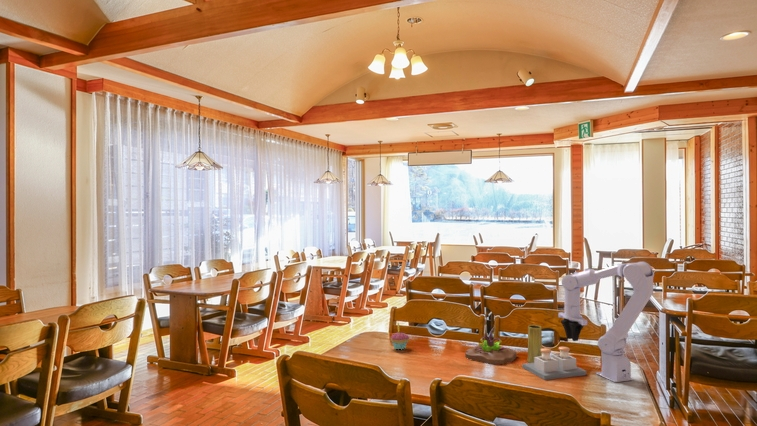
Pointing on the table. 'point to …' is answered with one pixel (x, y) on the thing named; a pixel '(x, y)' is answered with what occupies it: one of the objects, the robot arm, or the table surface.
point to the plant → (491, 352)
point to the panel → (554, 367)
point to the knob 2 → (564, 352)
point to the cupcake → (399, 339)
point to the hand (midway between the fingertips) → (572, 339)
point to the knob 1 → (546, 354)
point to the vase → (534, 342)
